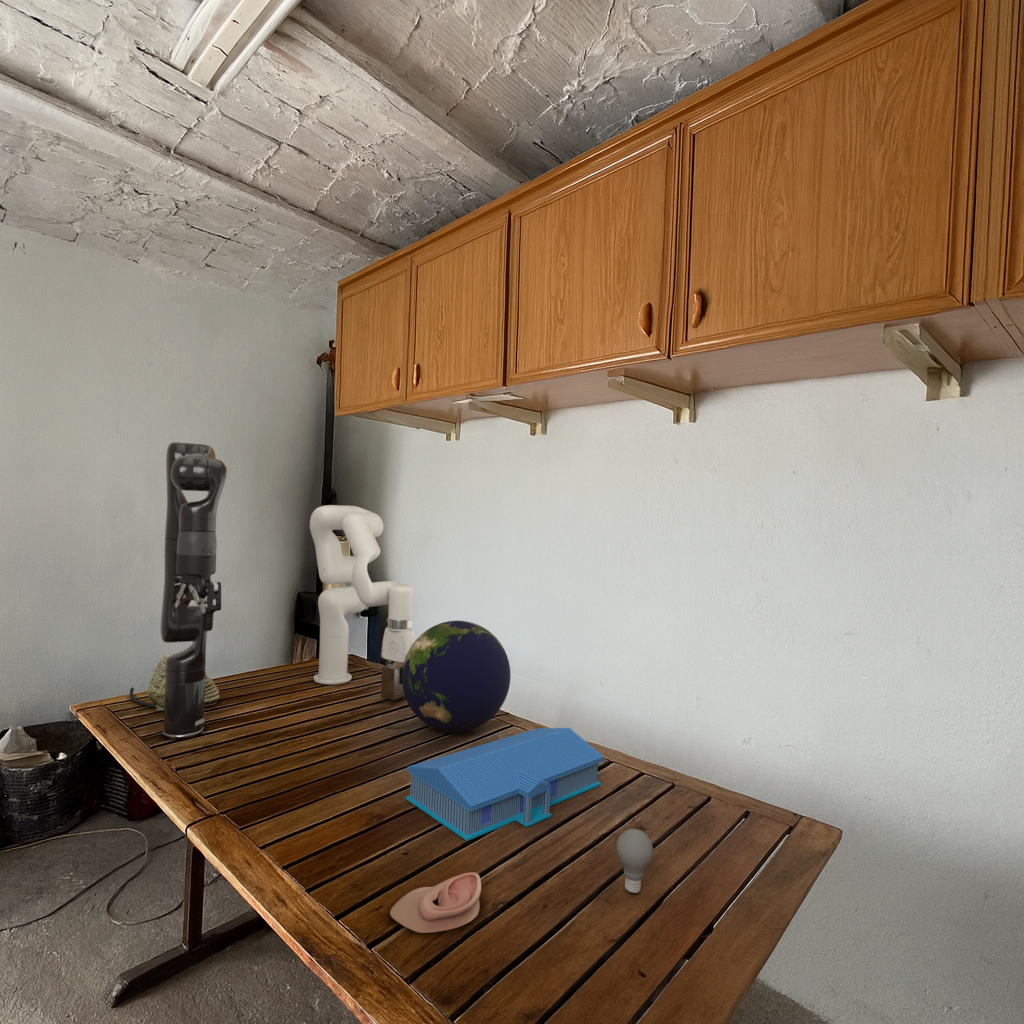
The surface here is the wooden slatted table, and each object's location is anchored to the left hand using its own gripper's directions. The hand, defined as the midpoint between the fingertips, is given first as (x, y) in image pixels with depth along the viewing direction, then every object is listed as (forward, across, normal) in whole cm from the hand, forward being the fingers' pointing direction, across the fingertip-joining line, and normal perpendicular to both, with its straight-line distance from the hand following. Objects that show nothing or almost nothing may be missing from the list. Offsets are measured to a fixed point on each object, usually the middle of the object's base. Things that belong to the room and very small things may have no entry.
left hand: (194, 628), depth 135 cm
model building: (+34, +58, +38) cm, 77 cm away
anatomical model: (+34, +68, -3) cm, 76 cm away
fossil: (+34, -48, +29) cm, 66 cm away
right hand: (+28, -4, +72) cm, 77 cm away
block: (+33, -4, +72) cm, 79 cm away
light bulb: (+34, +92, +20) cm, 100 cm away
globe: (+34, +25, +62) cm, 75 cm away
